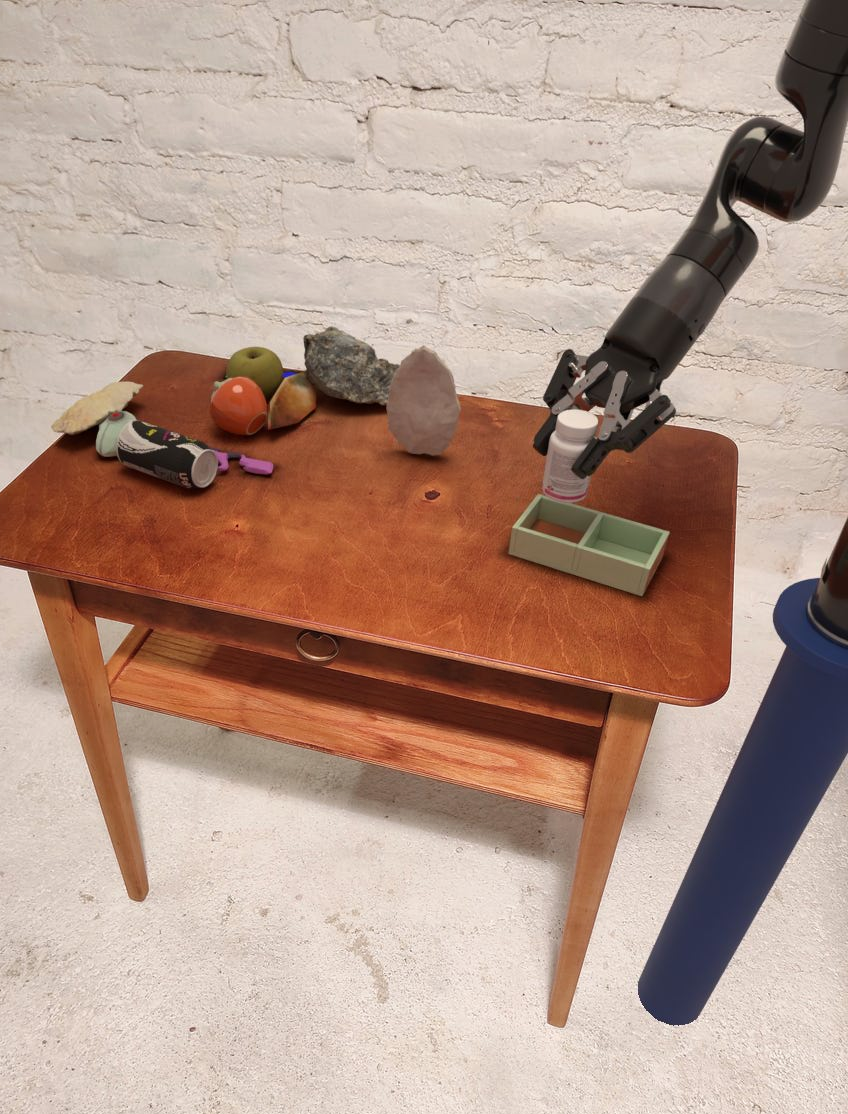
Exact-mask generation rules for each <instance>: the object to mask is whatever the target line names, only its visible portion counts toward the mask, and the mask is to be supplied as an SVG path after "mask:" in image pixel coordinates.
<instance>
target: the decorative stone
mask: <svg viewBox="0 0 848 1114" xmlns="http://www.w3.org/2000/svg"><path fill="white" fill-rule="evenodd" d="M300 372H301V373H298V374H295V375H292V376H289V377H286V378H284V380H283V381H282V383H281V384H280V386H279V387H278V389H277V391H276V392H275V394H274V396H273V397H272V399H271V400H270V402H269V404H267V407H268V409H267V414H268V418H267V430H268V431H269V430H274V429H280V428H283V427H284V428H285V427H288V426H289V427H290V426H294V425H296V424H298V423H300V422H301V421H302V420H303V419H304V418H306V416H308V415H309V414H310V413H311V412H312V411H314V410H315V409H316V408H317V386H315V385H314V384H313V383H312V382H311V381H310V380H308V379H307V377H306V370H304V371H300Z"/></svg>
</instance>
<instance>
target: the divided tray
mask: <svg viewBox="0 0 848 1114" xmlns="http://www.w3.org/2000/svg"><path fill="white" fill-rule="evenodd" d="M510 533H511V534H510V540H509V545H508V546H509V547H508V551H507V554H508V555H511V556H514V557H516V558H520V559H523V560H526V561H528V562H533V563H534V564H539V565H542V566H545V567H548V568H551V569H555V570H558V571H560V572H563V573H566V574H570V575H574V576H577V577H579V578H582V579H586V580H589V581H592V582H594V583H599V584H602V585H604V586H608V587H610V588H614V589H617V590H621V591H623V592H627V593H629V594H633V595H636V596H640V597H644V594H645V592H646V591H647V589H648V587H649V585H650V583H651V581H652V579H653V578H654V576H655V574H656V571H657V569H658V567H659V565H660V564H661V562H662V560H663V557H664V554H665V551H666V548H667V544H668V541H669V536H670V533H671V532H670V531H668V530H664V529H662V528H659V527H655V526H651V525H648V524H645V523H641V522H637V521H633V520H631V519H628V518H627V519H626V518H624V517H621V516H617V515H613V514H610V513H606V512H602V511H599V510H597V509H593V508H589V507H585V506H582V505H578V504H576V503H575V504H574V503H563V502H558V501H554V500H552V499H550V498H548V497H547V496H546V495H545V494H540V493H538V494H536V496H535V498H533V500H532V501H531V502H530V504H529V505H528V506H527V507H526V509H525V510H524V512H523V513H522V514H521V515H520V516H519V518H518V520H517V521H516V522H515V523H514V524H513V526H512V527H511V532H510Z"/></svg>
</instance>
